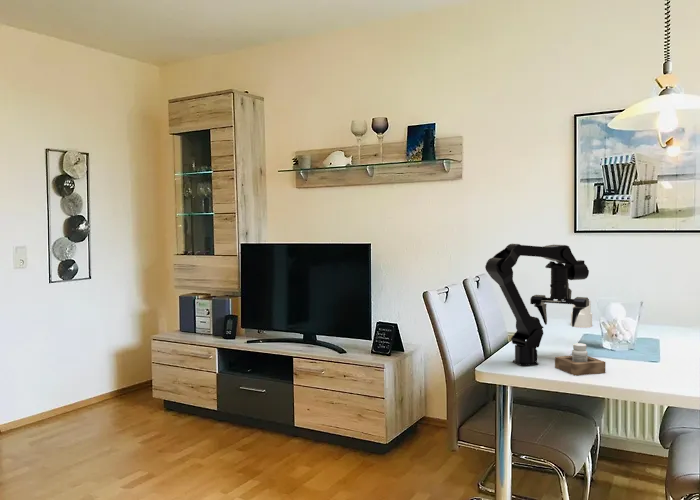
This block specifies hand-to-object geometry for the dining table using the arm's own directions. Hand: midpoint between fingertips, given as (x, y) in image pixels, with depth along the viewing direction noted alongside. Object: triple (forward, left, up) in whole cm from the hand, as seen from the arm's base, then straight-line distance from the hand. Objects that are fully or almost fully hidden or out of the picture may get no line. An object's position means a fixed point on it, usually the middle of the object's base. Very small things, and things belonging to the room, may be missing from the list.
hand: (559, 325), depth 211 cm
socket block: (-2, -15, -12) cm, 19 cm away
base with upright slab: (+47, +54, -12) cm, 73 cm away
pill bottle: (-2, -15, -12) cm, 19 cm away
